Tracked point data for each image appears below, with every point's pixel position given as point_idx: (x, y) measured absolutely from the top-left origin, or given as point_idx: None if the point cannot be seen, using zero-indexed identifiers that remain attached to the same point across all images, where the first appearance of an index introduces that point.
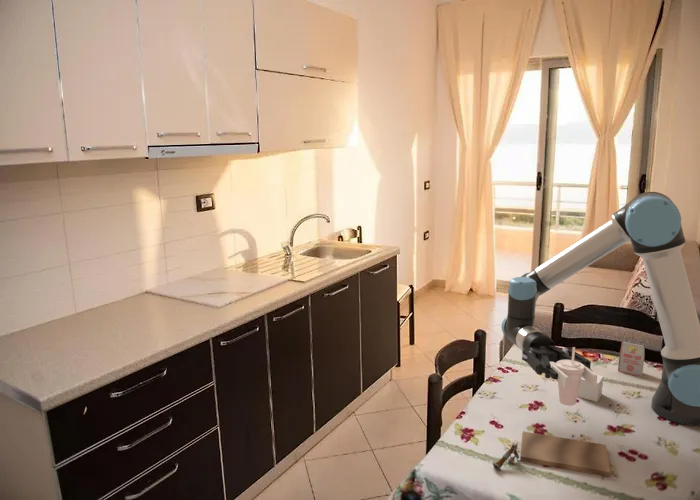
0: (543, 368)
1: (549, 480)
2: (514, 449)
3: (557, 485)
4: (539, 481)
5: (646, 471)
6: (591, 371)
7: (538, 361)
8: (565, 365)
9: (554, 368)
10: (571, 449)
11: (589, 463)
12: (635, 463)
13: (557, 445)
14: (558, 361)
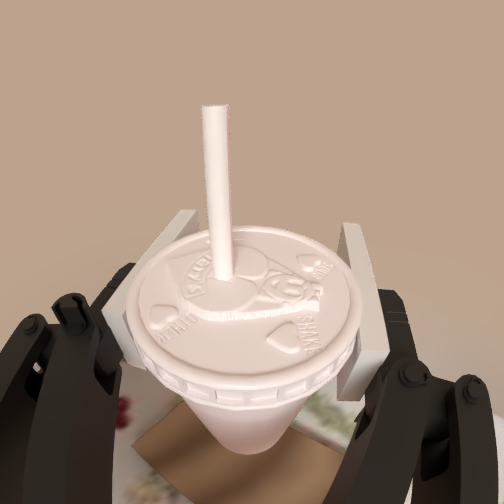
0: (439, 381)
1: (339, 402)
2: None
3: (331, 387)
4: (360, 403)
5: (134, 368)
6: (169, 230)
7: (470, 457)
8: (299, 275)
9: (381, 318)
10: (226, 466)
11: None
12: (128, 391)
13: (250, 491)
14: (311, 359)
